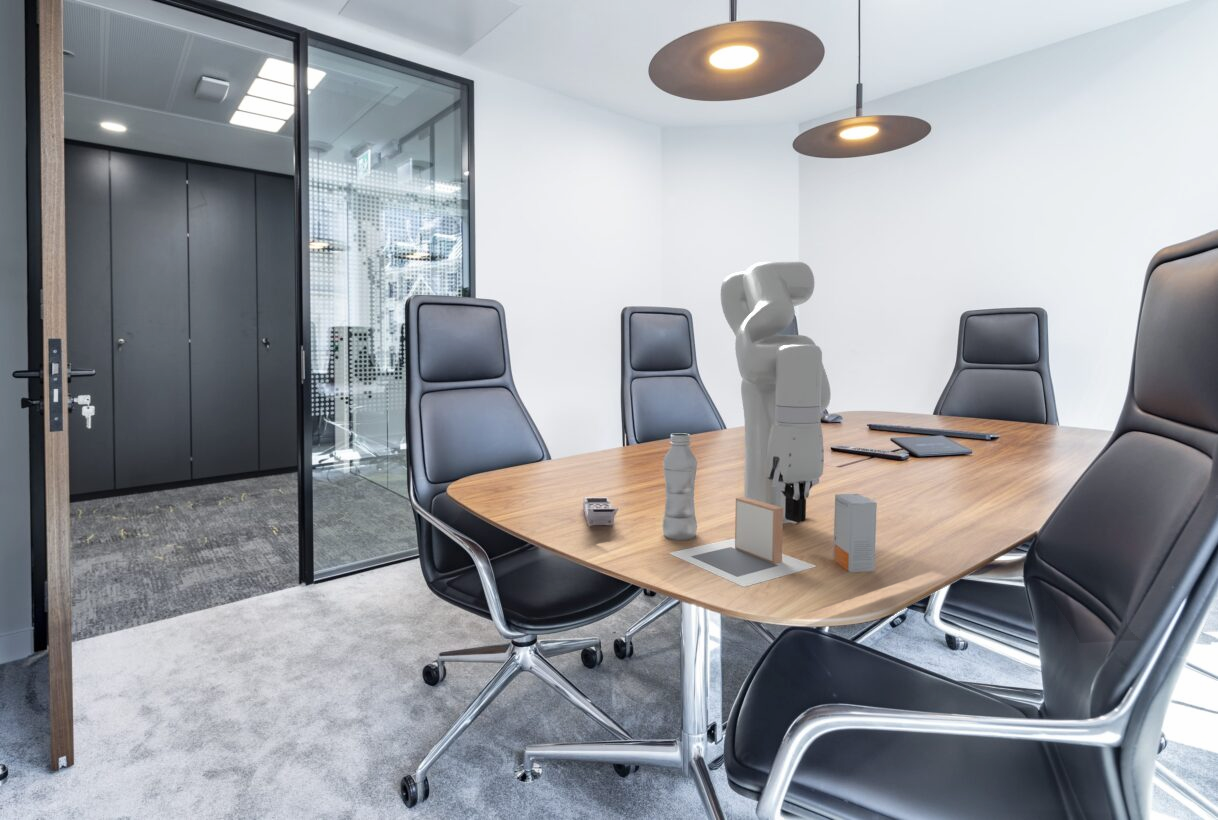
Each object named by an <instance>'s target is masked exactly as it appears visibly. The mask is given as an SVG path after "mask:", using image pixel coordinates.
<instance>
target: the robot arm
mask: <svg viewBox="0 0 1218 820" xmlns="http://www.w3.org/2000/svg"><path fill="white" fill-rule="evenodd" d="M814 290H815V276H814V273H813V270H812V268H811V267H810V266H809V265H808V264H807V263H805V262H802V261H763V262H758V263H754V264H753V265H751V266H749V267H748V268H747V269H746V271H745V270H744V271H739V272H735V273H732V274H730V275H729V274H728V276H726V277H725V278H724V279H723V281H722V283H721V287H720V301H721V302H720V303H721V308H722V312H723V316H724V318H725V320H726V322H727V323H728V325H729V328H730V329H731V330H732V333H733V334H734V336H735V348H734V349H735V356H736V362H737V367H738V371H739V374H740V376H741V378H742V381H741V385H740V388H741V389H740V392H741V394H740V395H741V400H742V401H741V403H742V407H743V408H742V409H743V416H744V418H743V420H744V475H743V476H744V477H743V478H744V479H743V480H744V481H743V483H744V485H743V490H744V491H743V497H746V498H750V499H754V500H757V501H761V502H764V503H768V504H772V505H775V506H779V507H783V524H789V523H790V524H794V525H797V523H802V522H805V521H806V517H807V515H806V514H807V510H806V509H807V499H808V498H809V495H810V490H811V489H812V488H813V487H814V486H816V485H818V484H819V482H820V478H821V477H822V476H823V473H824V463H825V461H824V459H825V456H824V455H825V452H824V451H825V450H824V449H825V447H824V437H823V428H822V424H821V415H822V413H823V412H824V411H825V410H826V409H827V408H828V407H829V405H830V402H831V387H830V382H829V378H828V375H827V372H826V370H825V367H824V364H823V352H822V349H821V347H820V346H818V345H817V344H816V343H815V341H814V340H813V339H812V338H810V337H809V336H807V335H802V334H779V333H780V332H782V331H784V330H785V329H786V328H788V327H789V326H790V325H791V324H792V323H793V320H794V318H795V315H796V312H795V307H796V306H800V305H802V304H804V303H806V302H808V301H809V300H810V299H811V298H812V296H813V294H814Z"/></svg>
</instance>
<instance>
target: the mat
mask: <svg viewBox="0 0 1218 820" xmlns="http://www.w3.org/2000/svg"><path fill="white" fill-rule="evenodd" d="M668 554H669V555H672V557H673V556H674V557H676V558H678V559H681V561H682V560H683V561H685V562H687V563H689V564H691V565H693V566H696V567H698V568H700V569H702V570H705V571H707V572H709V573H712V574H714V575H715V576H719V577H721V578H722V579H725V580H726V581H730V582H731V583H734V584H735V585H737V586H741V587H743V588H747V587H750V586H752V585H756V584H760V583H763V582H768V581H770V580H775V579H777V578H781V577H785V576H787V575H788V576H789V575H791V574H796V573H799V572H802V571H803V572H804V571H805V570H809V569H813V568H816V567H818V565H816V564H815V565H814V564H811V563H809V562H806V561H804V560H800V559H798V558H796V557H793V556H790V555H787V554H784V553H782V562H779V563H775V564H774V563H771V562H768V561H766V560H763V559H761V558H758V557H755V556H753V555H750V554H748V553H745V552H742V551H740V550H737V549H735V537H734V538H730V539H725V540H720V541H717V542H712V543H708V544H703V545H698V546H694V547H689V548H686V549H681V550H676V551H672V552H668Z"/></svg>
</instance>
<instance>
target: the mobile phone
mask: <svg viewBox="0 0 1218 820" xmlns="http://www.w3.org/2000/svg"><path fill="white" fill-rule="evenodd" d="M582 506H583V512H584V516H585V518H586V523H587V526H589V525H611V526H613V525H614V522H615V517H616V514H617V512H618V511H619V507H616V508H613V507H612V505H611V501H610V499H609V498H608V497H607V496H587V497H586V496H584V497H583V503H582Z"/></svg>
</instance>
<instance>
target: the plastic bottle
mask: <svg viewBox="0 0 1218 820" xmlns="http://www.w3.org/2000/svg"><path fill="white" fill-rule="evenodd" d="M669 440H670V441H669V445H670V449H669V450H668V451H667V453H666V454H665V456H664V457H663V461H662V468H663V477H664V483H665V484H664V485H665V505H664V515H663V519H662V527H661V528H662V533H663V535H664V537H665V538H667V539H670V540H674V541H675V540H676V541H687V540H691V539H693V538H695V537H696V535H697V529H698V522H697V518H696V512H695V511H696V509H695V498H694V497H695V483H696V476H697V468H698V461H697V458H696V456H695V455H694V453H693V451H692V450H691V449H690V445H691V435H690V434H689V433H683V432H682V433H680V432H679V433H678V432H676V433H671V434H670V439H669Z"/></svg>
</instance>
